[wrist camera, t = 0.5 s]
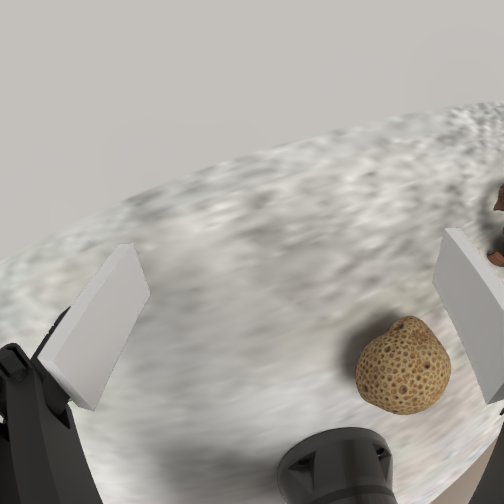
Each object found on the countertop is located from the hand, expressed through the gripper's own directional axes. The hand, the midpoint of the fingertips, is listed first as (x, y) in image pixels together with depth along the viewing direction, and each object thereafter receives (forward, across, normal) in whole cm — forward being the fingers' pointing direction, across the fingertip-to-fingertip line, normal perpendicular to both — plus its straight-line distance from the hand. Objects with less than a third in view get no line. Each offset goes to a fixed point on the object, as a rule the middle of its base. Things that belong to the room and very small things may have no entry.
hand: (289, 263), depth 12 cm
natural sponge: (+11, -10, +19) cm, 24 cm away
